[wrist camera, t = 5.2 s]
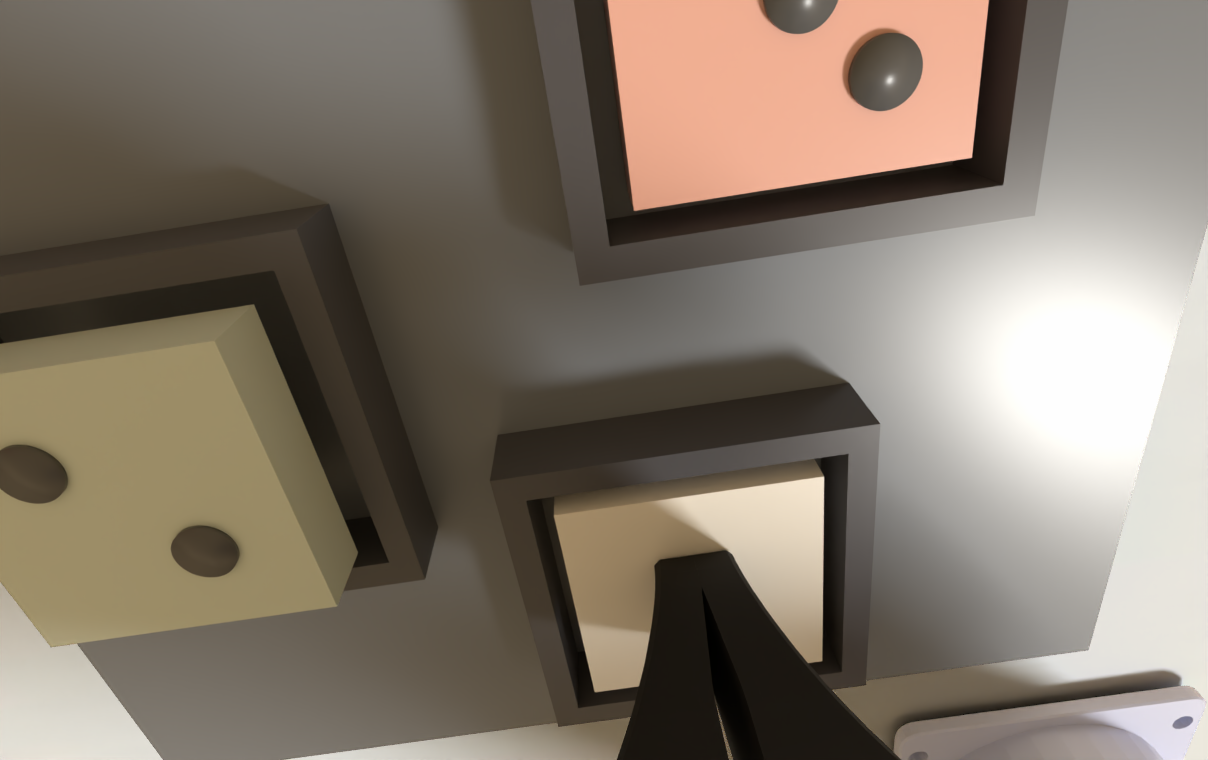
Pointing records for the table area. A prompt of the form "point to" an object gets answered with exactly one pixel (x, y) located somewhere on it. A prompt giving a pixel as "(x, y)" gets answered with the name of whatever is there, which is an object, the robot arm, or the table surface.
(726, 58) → the key three
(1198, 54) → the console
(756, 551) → the key one
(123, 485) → the key two
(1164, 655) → the table surface
